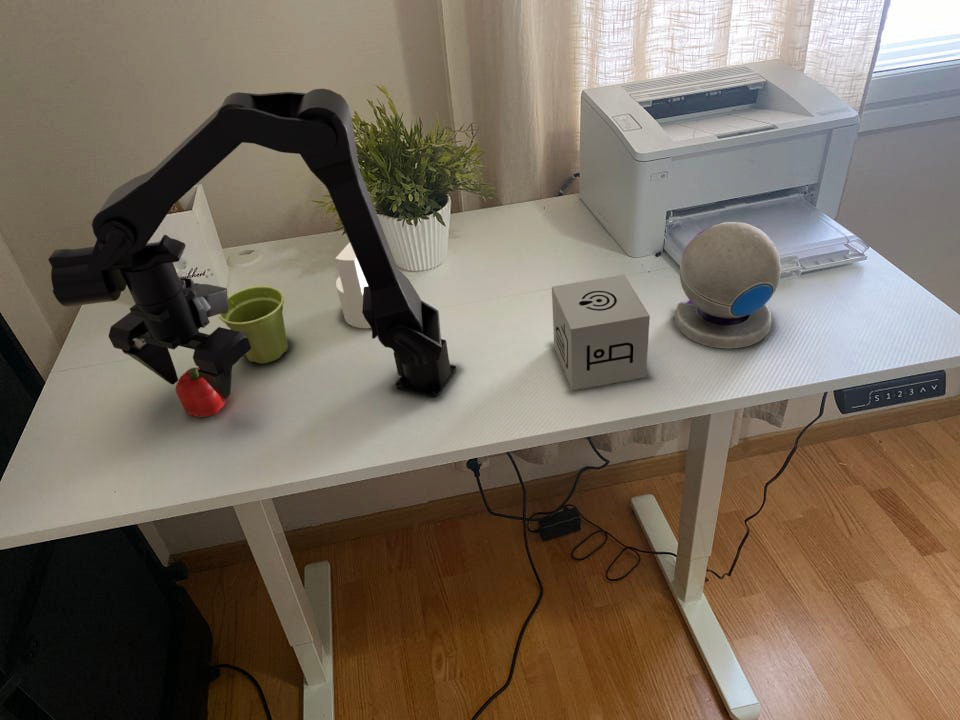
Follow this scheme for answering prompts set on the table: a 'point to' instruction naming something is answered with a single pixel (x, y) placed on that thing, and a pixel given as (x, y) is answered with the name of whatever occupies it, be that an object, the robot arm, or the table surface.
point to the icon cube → (600, 331)
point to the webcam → (728, 285)
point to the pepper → (198, 394)
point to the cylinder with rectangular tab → (351, 287)
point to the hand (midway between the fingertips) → (200, 389)
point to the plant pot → (258, 321)
